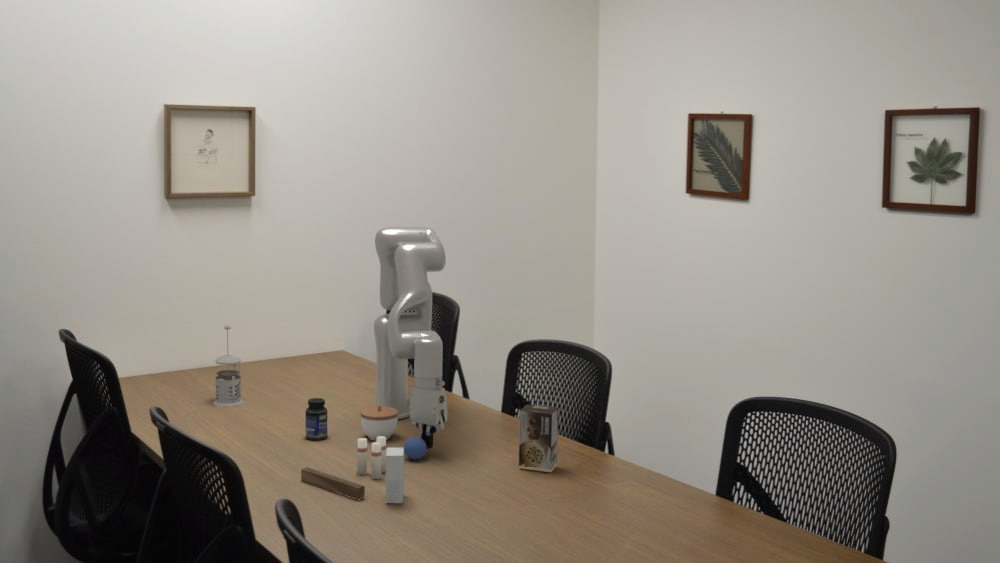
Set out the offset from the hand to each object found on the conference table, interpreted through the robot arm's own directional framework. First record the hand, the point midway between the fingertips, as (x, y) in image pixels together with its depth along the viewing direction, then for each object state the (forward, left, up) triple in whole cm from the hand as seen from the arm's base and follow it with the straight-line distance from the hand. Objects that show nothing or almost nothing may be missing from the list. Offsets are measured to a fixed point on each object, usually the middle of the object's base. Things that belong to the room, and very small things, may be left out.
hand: (427, 448), depth 262 cm
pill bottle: (+9, -33, -2) cm, 35 cm away
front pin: (+17, 0, -2) cm, 18 cm away
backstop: (+34, 0, -2) cm, 34 cm away
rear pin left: (+22, +2, -2) cm, 22 cm away
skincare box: (+29, +16, -2) cm, 33 cm away
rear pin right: (+22, -3, -2) cm, 22 cm away
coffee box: (-12, +29, -2) cm, 31 cm away
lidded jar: (-3, -20, -2) cm, 21 cm away
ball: (+5, 0, +1) cm, 5 cm away
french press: (+2, -81, -2) cm, 82 cm away
